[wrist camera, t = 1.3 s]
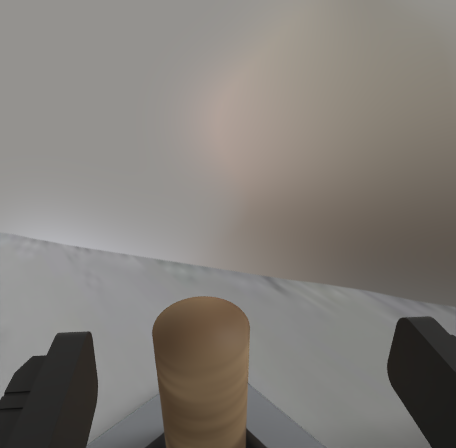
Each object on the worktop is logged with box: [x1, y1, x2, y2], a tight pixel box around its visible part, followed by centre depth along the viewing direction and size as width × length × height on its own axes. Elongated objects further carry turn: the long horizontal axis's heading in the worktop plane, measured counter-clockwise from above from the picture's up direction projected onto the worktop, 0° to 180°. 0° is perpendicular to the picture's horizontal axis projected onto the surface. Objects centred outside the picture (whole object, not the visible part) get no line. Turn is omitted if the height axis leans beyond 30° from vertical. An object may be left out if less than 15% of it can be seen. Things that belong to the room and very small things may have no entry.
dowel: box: [152, 296, 250, 448], centre depth 23 cm, size 5×5×14 cm
